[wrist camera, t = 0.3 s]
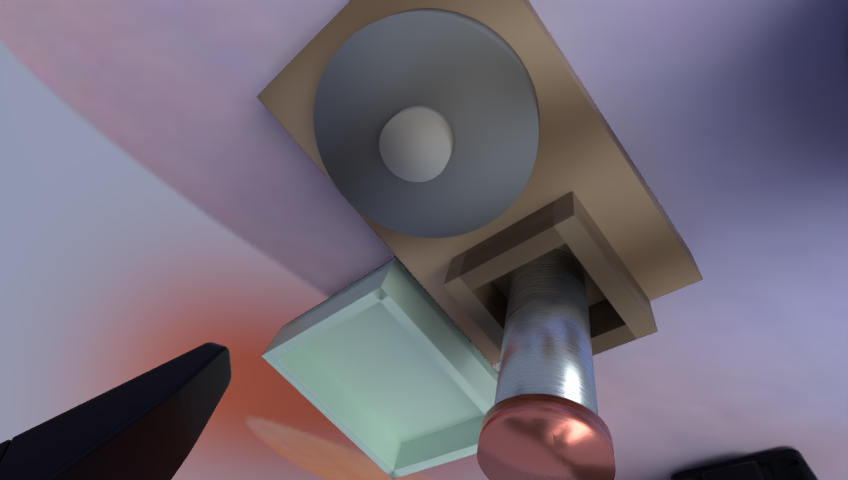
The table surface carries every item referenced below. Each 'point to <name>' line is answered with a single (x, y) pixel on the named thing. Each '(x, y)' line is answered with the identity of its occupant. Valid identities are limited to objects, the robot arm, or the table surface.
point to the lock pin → (546, 382)
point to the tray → (389, 371)
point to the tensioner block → (479, 160)
